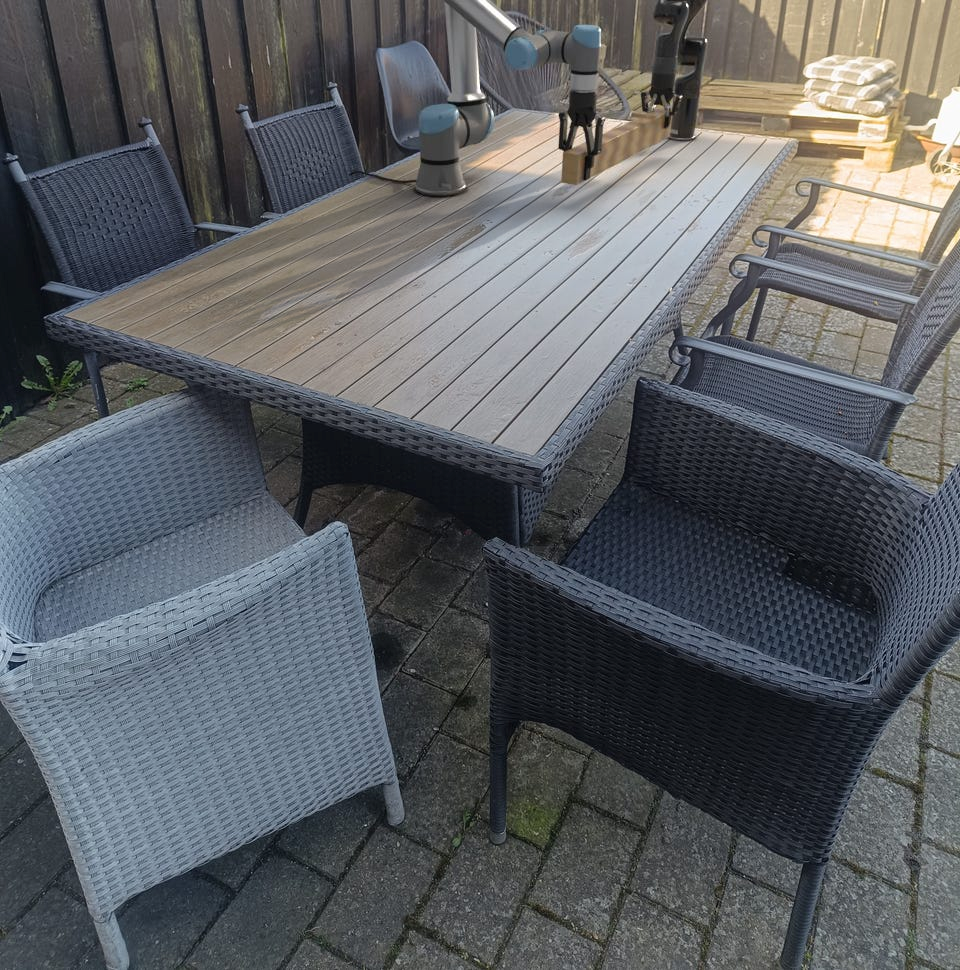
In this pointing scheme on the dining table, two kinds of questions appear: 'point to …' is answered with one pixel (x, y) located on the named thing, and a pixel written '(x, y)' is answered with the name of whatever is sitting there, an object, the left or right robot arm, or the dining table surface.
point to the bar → (616, 146)
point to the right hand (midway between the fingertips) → (657, 126)
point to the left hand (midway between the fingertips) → (577, 177)
